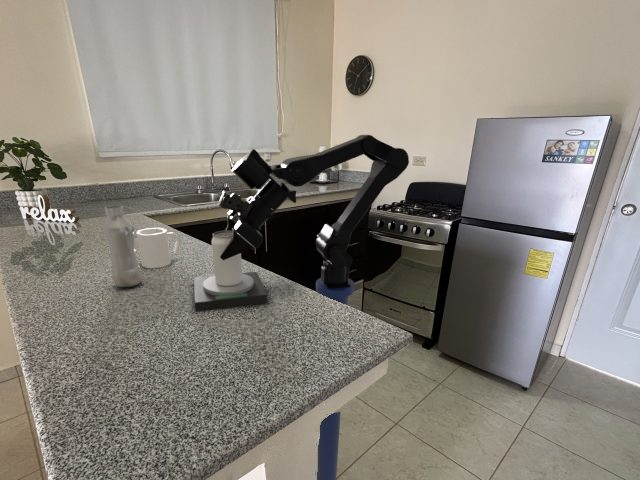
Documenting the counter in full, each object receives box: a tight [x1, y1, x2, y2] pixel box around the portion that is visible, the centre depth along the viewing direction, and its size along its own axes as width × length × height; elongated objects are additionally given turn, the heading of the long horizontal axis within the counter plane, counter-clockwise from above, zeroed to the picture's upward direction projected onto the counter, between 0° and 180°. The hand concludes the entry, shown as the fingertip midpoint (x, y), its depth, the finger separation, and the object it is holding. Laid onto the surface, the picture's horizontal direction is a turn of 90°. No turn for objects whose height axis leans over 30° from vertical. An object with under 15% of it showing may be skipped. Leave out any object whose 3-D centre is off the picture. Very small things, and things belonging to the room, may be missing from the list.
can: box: [211, 230, 243, 287], centre depth 82 cm, size 6×6×12 cm
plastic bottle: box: [102, 205, 143, 288], centre depth 85 cm, size 6×7×20 cm
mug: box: [135, 227, 182, 269], centre depth 103 cm, size 12×9×10 cm
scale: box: [193, 271, 268, 313], centre depth 85 cm, size 16×15×3 cm
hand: (220, 252), depth 81 cm, fingers open, 9 cm apart
